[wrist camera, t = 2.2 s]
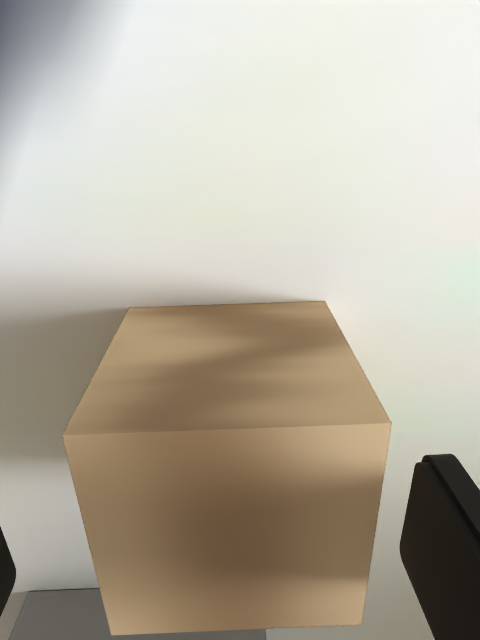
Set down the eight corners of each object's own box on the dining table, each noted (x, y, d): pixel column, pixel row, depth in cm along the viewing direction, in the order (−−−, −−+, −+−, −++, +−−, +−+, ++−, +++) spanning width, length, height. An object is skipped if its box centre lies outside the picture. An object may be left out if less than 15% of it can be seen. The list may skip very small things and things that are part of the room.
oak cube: (324, 299, 13) (391, 423, 8) (315, 451, 16) (361, 624, 10) (130, 306, 13) (61, 435, 8) (151, 457, 16) (111, 635, 10)
